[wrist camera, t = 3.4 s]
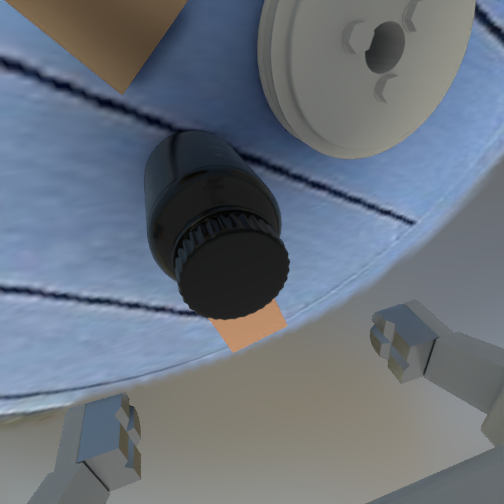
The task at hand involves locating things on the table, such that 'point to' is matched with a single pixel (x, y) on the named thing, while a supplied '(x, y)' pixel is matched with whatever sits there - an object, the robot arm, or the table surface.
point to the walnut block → (104, 31)
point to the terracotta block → (250, 326)
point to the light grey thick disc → (359, 68)
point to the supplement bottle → (213, 226)
